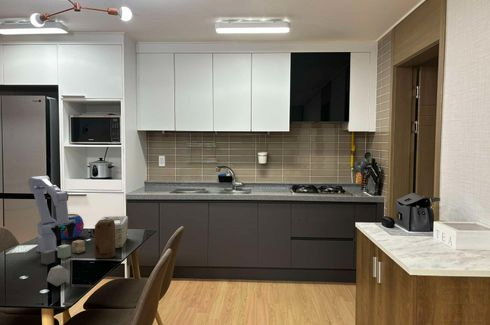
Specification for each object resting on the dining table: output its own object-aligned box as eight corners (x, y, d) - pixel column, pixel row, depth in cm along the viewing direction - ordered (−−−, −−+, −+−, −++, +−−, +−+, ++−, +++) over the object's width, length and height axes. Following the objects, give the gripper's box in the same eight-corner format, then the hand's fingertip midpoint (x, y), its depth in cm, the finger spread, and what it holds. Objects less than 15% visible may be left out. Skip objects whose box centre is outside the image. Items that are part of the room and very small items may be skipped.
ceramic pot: (48, 239, 232) (47, 216, 231) (73, 233, 247) (73, 211, 246) (64, 243, 223) (63, 219, 222) (89, 237, 238) (89, 214, 237)
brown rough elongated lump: (116, 254, 202) (115, 218, 201) (114, 258, 195) (113, 221, 194) (95, 255, 200) (94, 219, 199) (93, 259, 193) (92, 222, 191)
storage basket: (123, 248, 213) (122, 223, 212) (94, 250, 210) (93, 224, 209) (129, 237, 236) (128, 215, 236) (103, 239, 234) (102, 216, 233)
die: (58, 280, 166) (43, 267, 161) (74, 271, 166) (60, 257, 161) (55, 293, 159) (39, 280, 154) (72, 283, 159) (57, 270, 154)
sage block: (57, 257, 197) (57, 246, 196) (64, 255, 201) (64, 244, 200) (63, 258, 195) (63, 247, 195) (70, 256, 199) (70, 245, 199)
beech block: (72, 252, 206) (72, 241, 206) (78, 250, 210) (78, 239, 210) (78, 253, 204) (78, 242, 204) (84, 250, 208) (84, 240, 208)
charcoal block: (41, 263, 187) (40, 252, 187) (48, 260, 192) (48, 249, 191) (47, 264, 186) (47, 253, 185) (55, 261, 190) (54, 250, 189)
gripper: (56, 215, 189) (59, 241, 189) (78, 211, 203) (81, 235, 203) (46, 216, 192) (49, 241, 192) (69, 212, 206) (71, 236, 205)
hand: (65, 238), depth 197 cm, fingers open, 7 cm apart
